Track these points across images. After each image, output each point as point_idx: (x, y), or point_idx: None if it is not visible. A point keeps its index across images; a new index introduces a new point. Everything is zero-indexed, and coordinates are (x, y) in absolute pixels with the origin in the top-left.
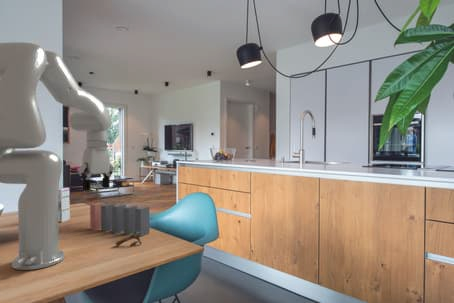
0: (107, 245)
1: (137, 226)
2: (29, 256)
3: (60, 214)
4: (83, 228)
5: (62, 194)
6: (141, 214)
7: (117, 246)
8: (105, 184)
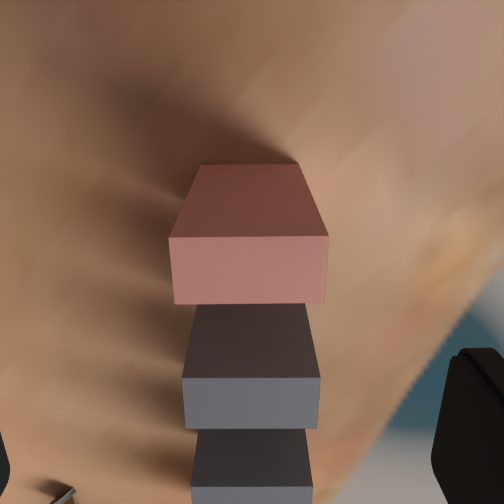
0: (48, 453)
1: None
2: None
3: None
4: (205, 78)
5: None
6: None
7: (55, 501)
8: (465, 460)
